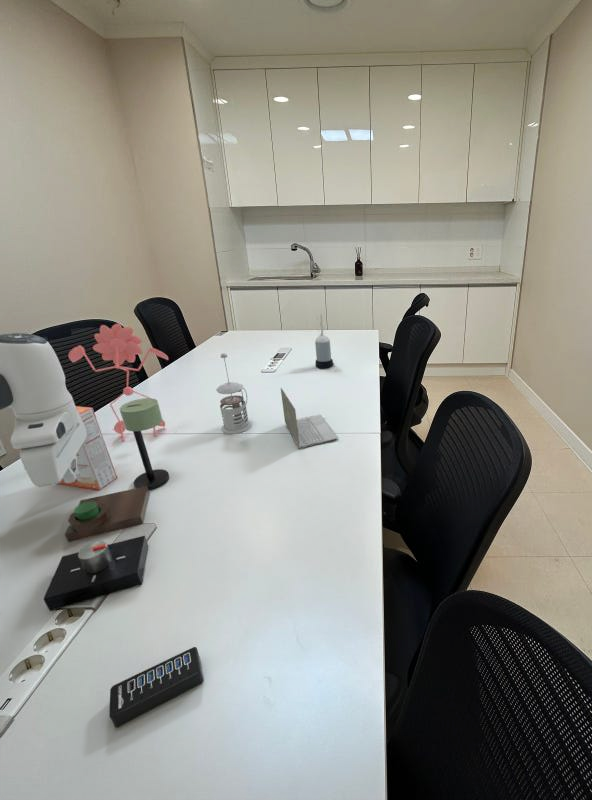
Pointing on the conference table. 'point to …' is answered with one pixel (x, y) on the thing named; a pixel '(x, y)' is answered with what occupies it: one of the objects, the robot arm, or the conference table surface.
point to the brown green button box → (111, 514)
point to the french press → (233, 422)
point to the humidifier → (323, 350)
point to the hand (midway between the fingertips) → (72, 478)
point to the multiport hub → (155, 686)
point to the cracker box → (92, 456)
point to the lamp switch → (86, 510)
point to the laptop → (306, 426)
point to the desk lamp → (138, 419)
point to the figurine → (117, 357)
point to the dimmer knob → (95, 557)
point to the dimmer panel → (97, 575)
